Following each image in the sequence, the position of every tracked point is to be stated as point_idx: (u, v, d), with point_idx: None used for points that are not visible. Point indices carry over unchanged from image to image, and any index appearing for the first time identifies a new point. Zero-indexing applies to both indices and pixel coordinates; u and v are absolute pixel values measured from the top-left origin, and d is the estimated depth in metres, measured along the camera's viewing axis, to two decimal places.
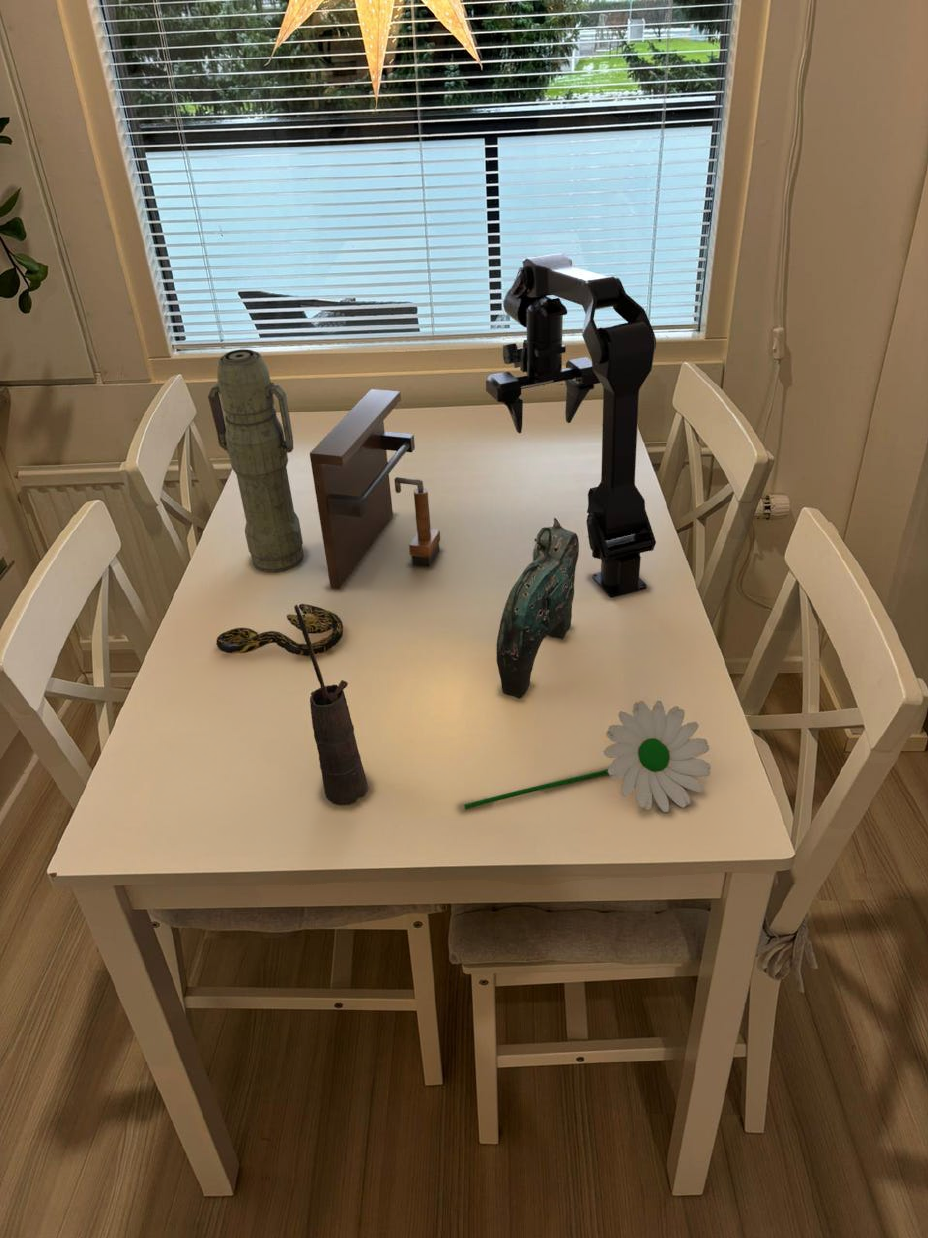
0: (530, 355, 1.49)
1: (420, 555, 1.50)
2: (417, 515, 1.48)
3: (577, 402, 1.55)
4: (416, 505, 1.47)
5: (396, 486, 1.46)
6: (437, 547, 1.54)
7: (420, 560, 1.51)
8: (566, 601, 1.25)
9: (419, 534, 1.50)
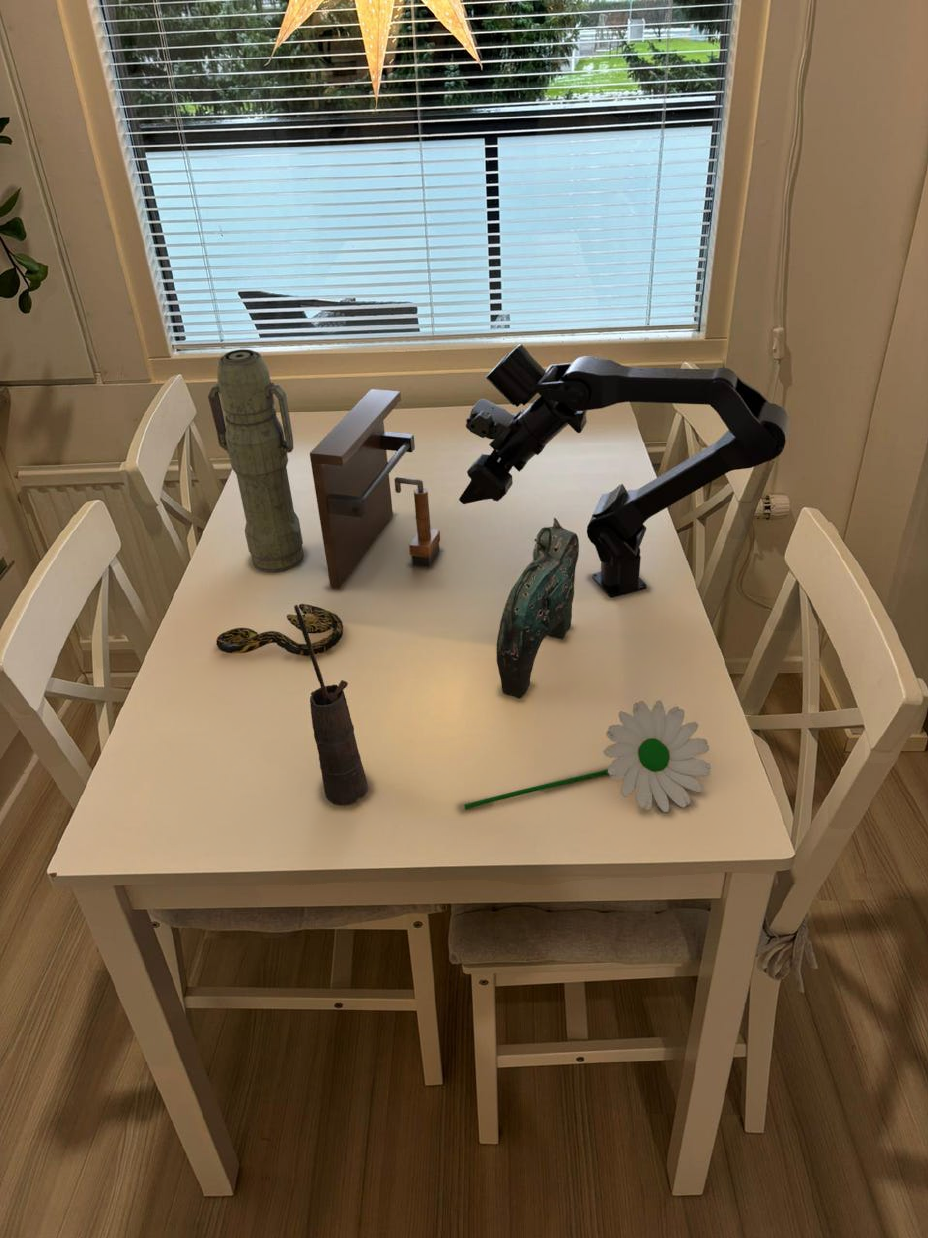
0: (524, 446, 1.34)
1: (420, 555, 1.50)
2: (417, 515, 1.48)
3: None
4: (416, 505, 1.47)
5: (396, 486, 1.46)
6: (437, 547, 1.54)
7: (420, 560, 1.51)
8: (566, 601, 1.25)
9: (419, 534, 1.50)
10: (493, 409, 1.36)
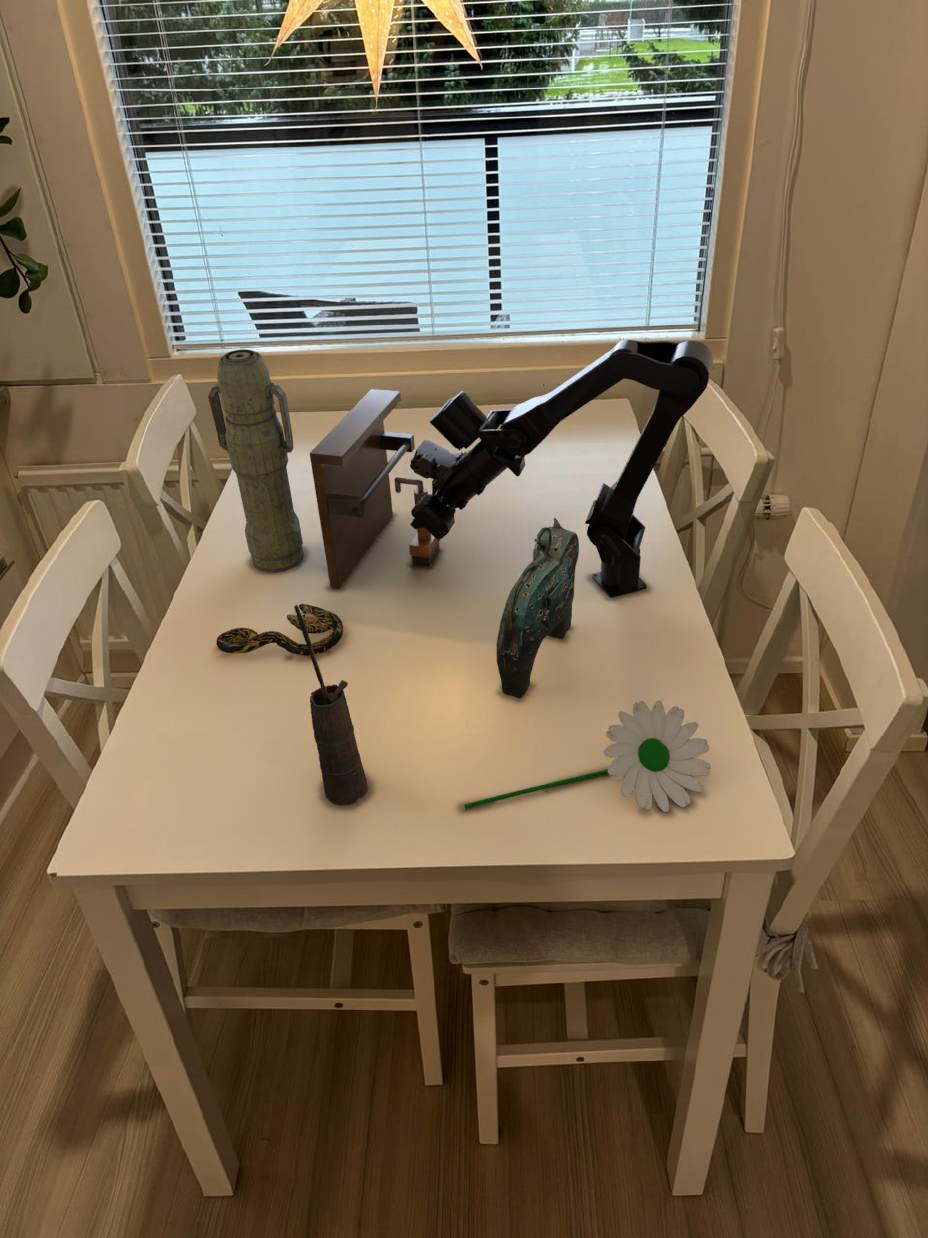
0: (465, 487, 1.40)
1: (420, 555, 1.50)
2: None
3: None
4: None
5: (396, 486, 1.46)
6: (437, 547, 1.54)
7: (420, 560, 1.51)
8: (566, 601, 1.25)
9: (419, 534, 1.50)
10: (436, 450, 1.42)
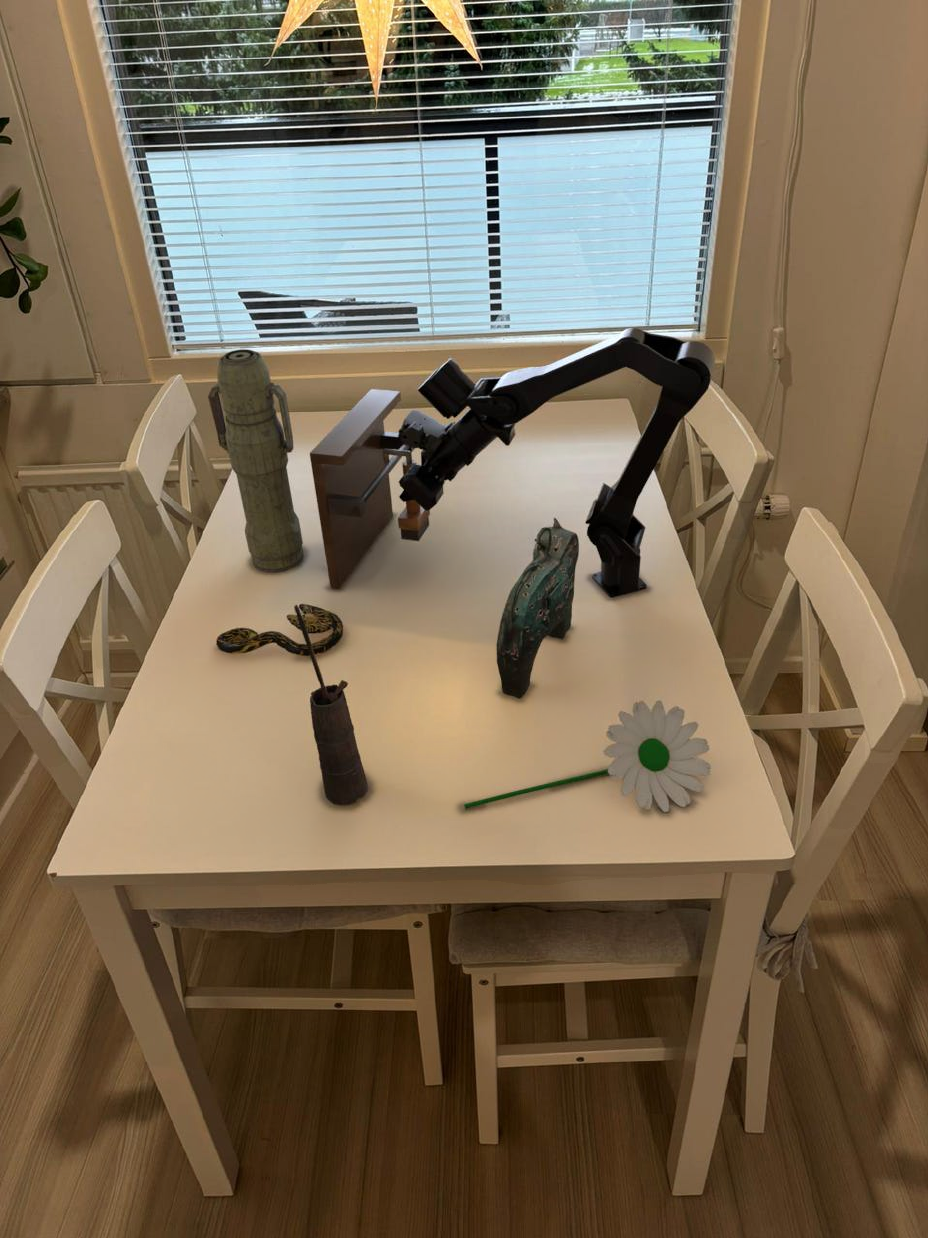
0: (454, 457, 1.37)
1: (409, 528, 1.47)
2: None
3: None
4: None
5: (384, 457, 1.44)
6: (427, 521, 1.51)
7: (409, 534, 1.48)
8: (566, 601, 1.25)
9: (408, 507, 1.47)
10: (425, 420, 1.39)
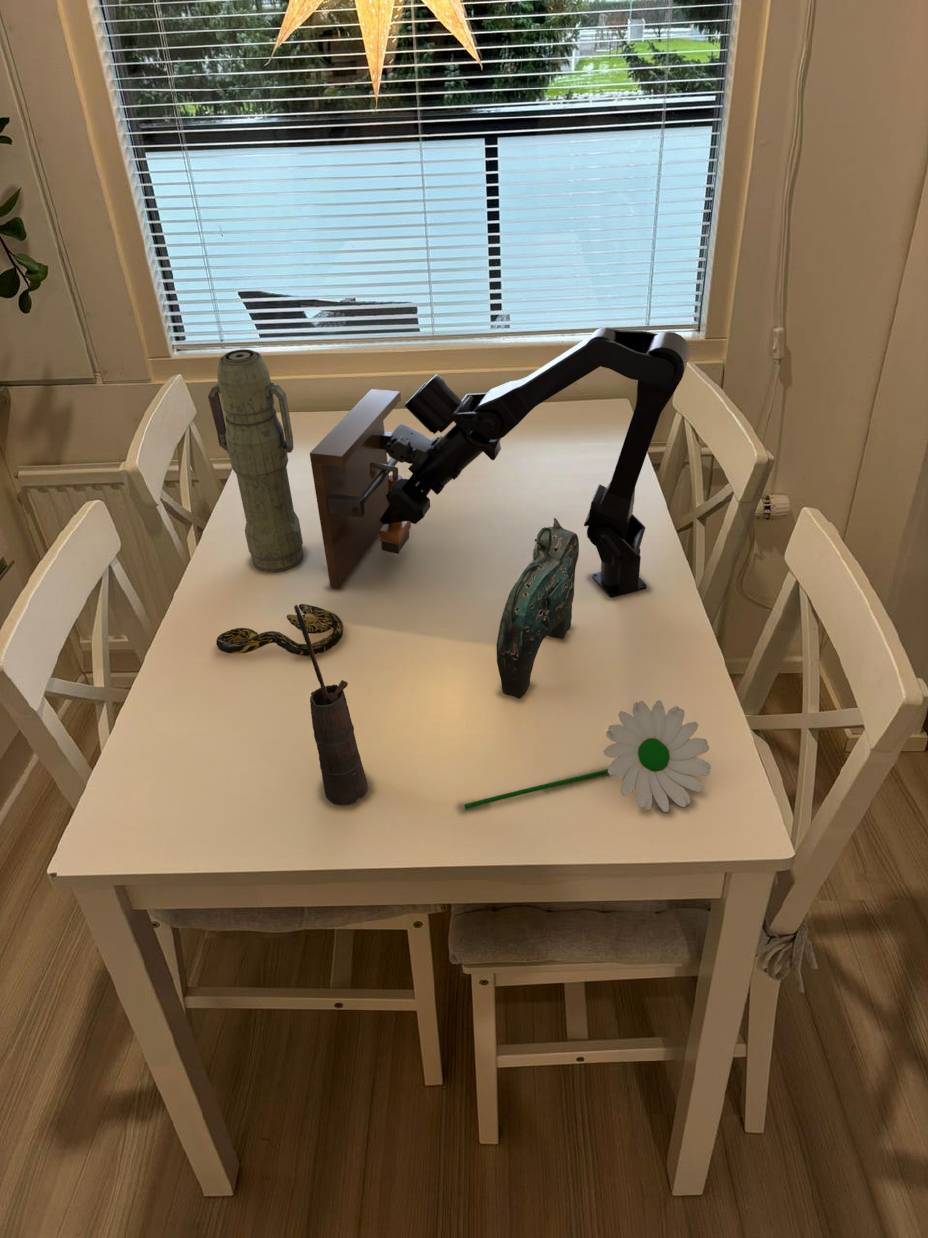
0: (441, 471, 1.40)
1: (390, 541, 1.50)
2: None
3: None
4: None
5: (371, 471, 1.46)
6: (407, 534, 1.54)
7: (389, 546, 1.51)
8: (566, 601, 1.25)
9: None
10: (412, 434, 1.41)
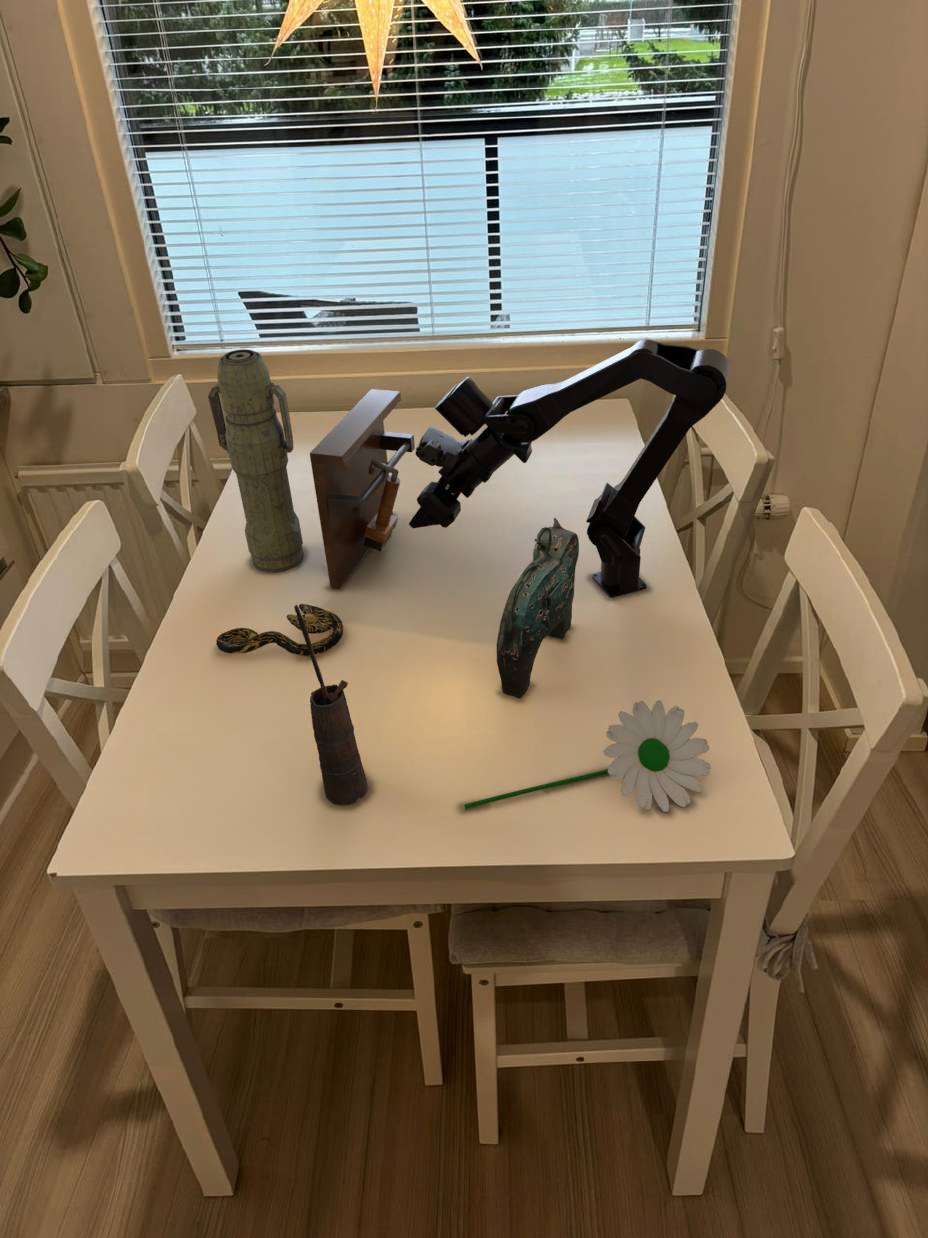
0: (471, 475, 1.38)
1: (375, 539, 1.51)
2: (383, 501, 1.48)
3: None
4: (385, 491, 1.47)
5: (371, 468, 1.46)
6: (391, 533, 1.55)
7: (373, 543, 1.52)
8: (566, 601, 1.25)
9: (379, 518, 1.50)
10: (442, 437, 1.40)
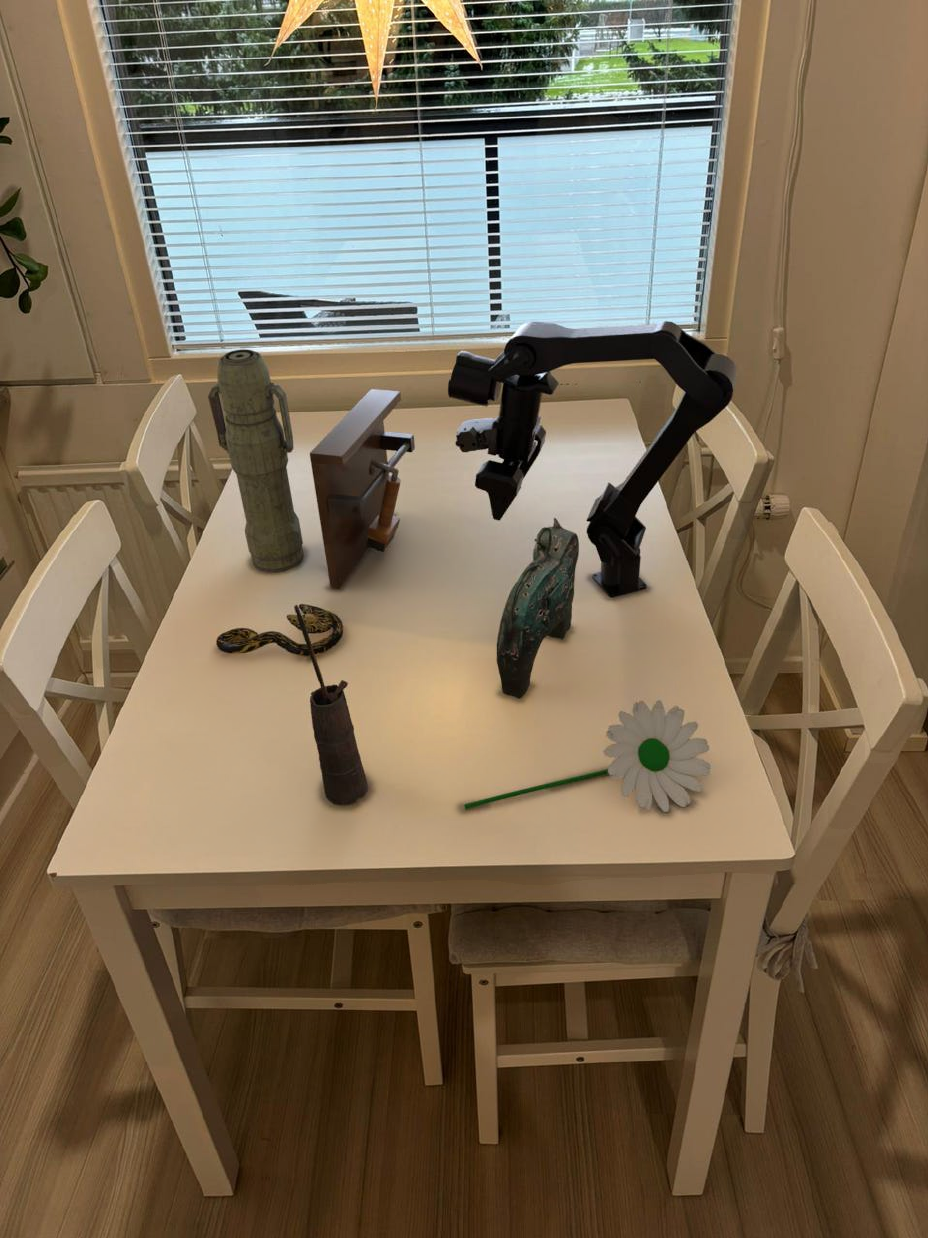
0: (515, 436, 1.33)
1: (377, 539, 1.51)
2: (384, 501, 1.48)
3: (528, 468, 1.45)
4: (386, 492, 1.47)
5: (371, 468, 1.46)
6: (393, 534, 1.55)
7: (376, 544, 1.51)
8: (566, 601, 1.25)
9: (381, 519, 1.50)
10: (477, 423, 1.37)
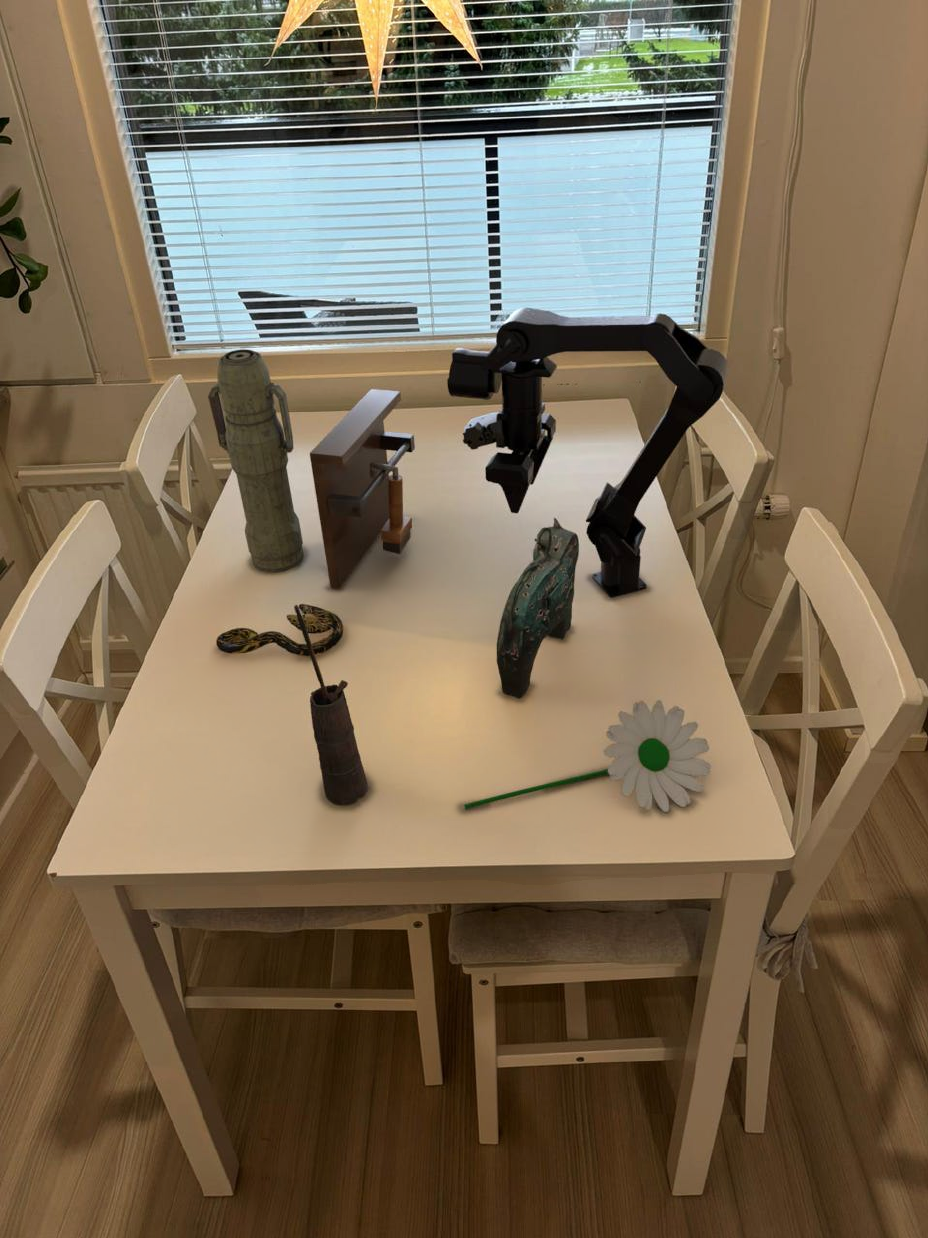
0: (521, 425, 1.32)
1: (391, 541, 1.50)
2: (390, 501, 1.48)
3: (542, 459, 1.43)
4: (390, 491, 1.47)
5: (371, 471, 1.46)
6: (408, 534, 1.54)
7: (391, 546, 1.51)
8: (566, 601, 1.25)
9: (391, 520, 1.50)
10: (483, 418, 1.37)
